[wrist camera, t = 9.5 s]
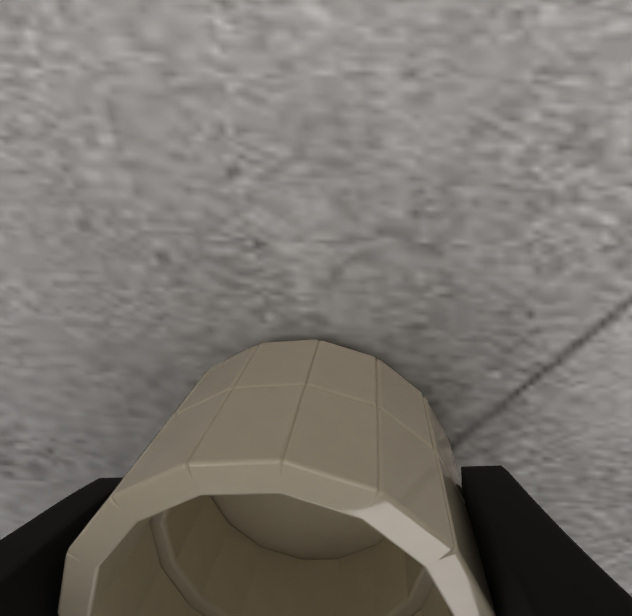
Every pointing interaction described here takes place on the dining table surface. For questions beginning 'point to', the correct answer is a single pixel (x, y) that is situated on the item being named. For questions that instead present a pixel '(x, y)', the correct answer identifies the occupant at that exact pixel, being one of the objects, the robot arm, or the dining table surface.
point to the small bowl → (286, 501)
